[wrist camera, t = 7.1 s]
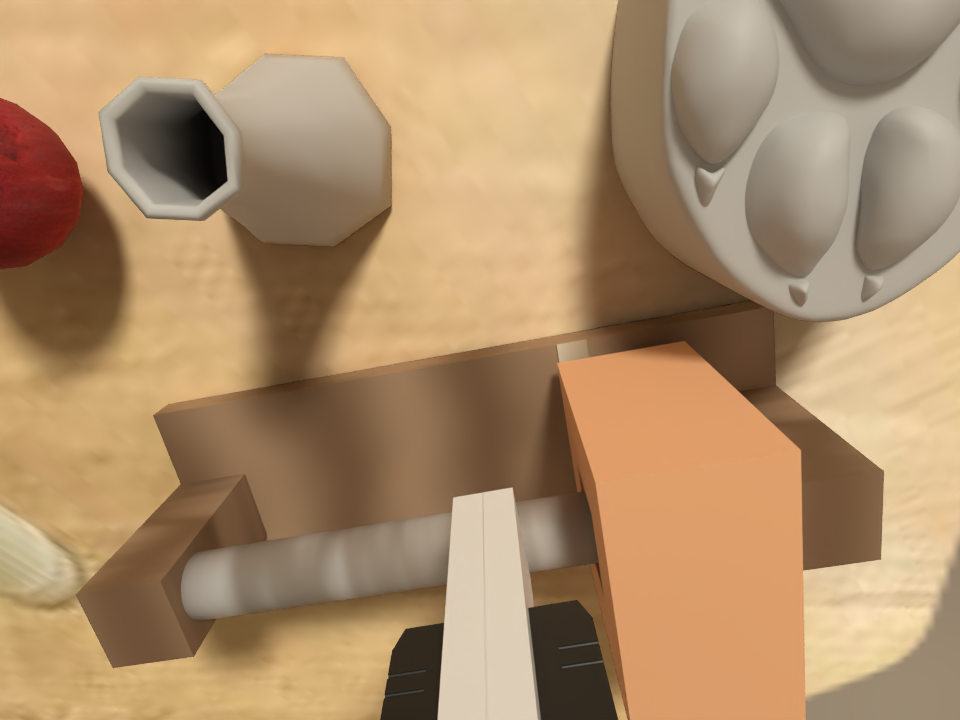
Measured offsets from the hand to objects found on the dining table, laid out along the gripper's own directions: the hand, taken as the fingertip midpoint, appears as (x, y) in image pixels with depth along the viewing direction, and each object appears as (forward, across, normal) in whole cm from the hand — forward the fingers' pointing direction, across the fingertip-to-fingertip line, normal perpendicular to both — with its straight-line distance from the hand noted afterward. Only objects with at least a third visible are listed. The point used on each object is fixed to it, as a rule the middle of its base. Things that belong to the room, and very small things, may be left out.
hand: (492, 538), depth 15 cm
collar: (+9, +5, -4) cm, 11 cm away
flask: (+12, -5, +10) cm, 17 cm away
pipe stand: (+11, -1, -4) cm, 12 cm away
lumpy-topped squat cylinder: (+11, +12, +9) cm, 19 cm away
